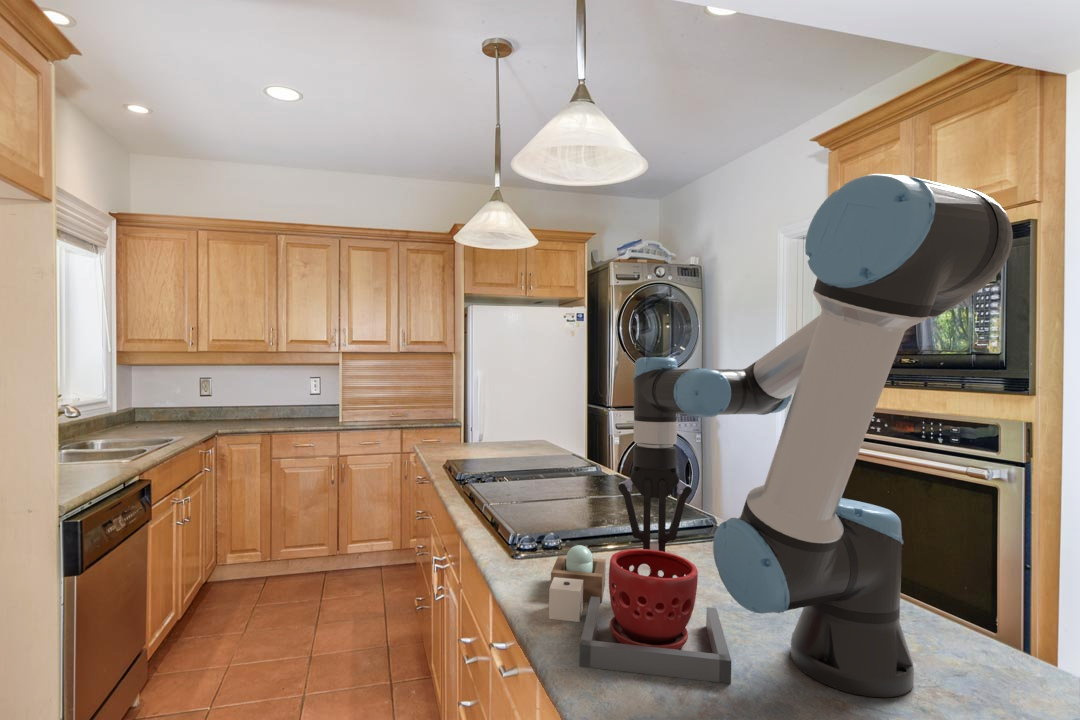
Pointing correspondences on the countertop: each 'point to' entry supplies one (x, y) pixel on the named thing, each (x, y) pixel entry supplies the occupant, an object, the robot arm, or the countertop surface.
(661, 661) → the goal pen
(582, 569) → the dome button
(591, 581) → the button box
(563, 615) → the cream cube with hole
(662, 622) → the plant pot
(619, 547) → the countertop surface
